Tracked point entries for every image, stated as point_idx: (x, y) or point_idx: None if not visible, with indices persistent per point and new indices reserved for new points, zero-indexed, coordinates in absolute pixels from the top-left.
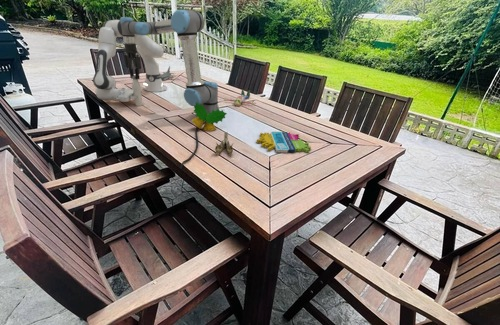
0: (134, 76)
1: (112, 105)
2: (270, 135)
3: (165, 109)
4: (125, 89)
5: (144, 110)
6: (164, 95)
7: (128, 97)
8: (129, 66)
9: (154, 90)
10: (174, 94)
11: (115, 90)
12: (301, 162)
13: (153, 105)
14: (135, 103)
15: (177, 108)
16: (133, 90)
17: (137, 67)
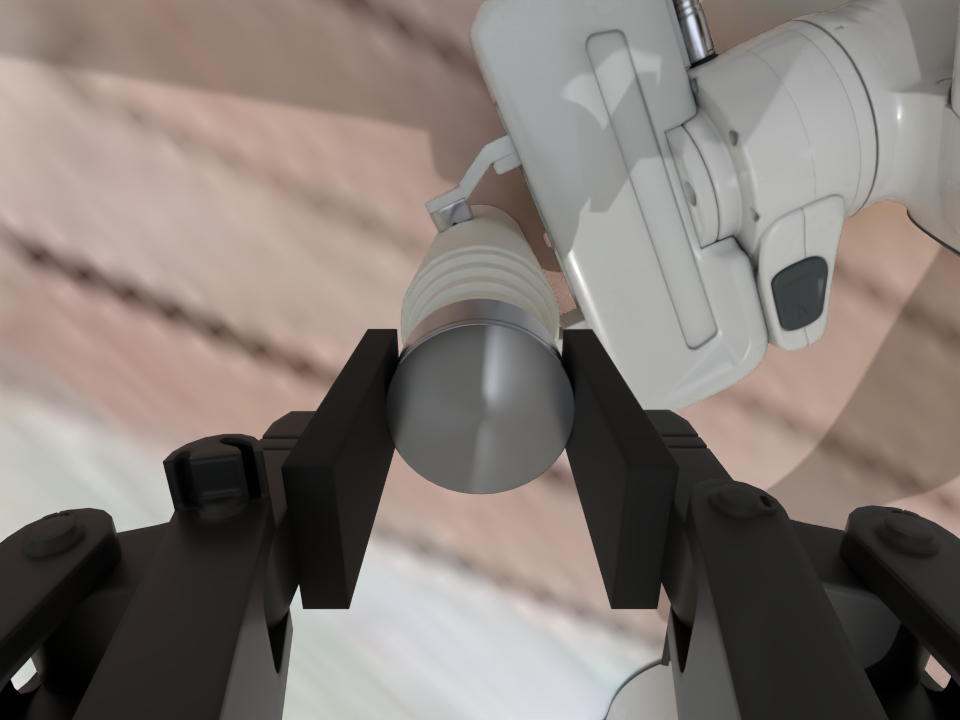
0: (420, 341)
1: (744, 24)
2: None
3: (98, 272)
4: (756, 318)
5: (249, 96)
6: (487, 633)
7: (481, 67)
8: (697, 571)
9: (652, 684)
10: (430, 697)
11: (816, 82)
12: None
13: (319, 317)
14: (490, 207)
15: (36, 372)
16: (494, 232)
17: (67, 574)
